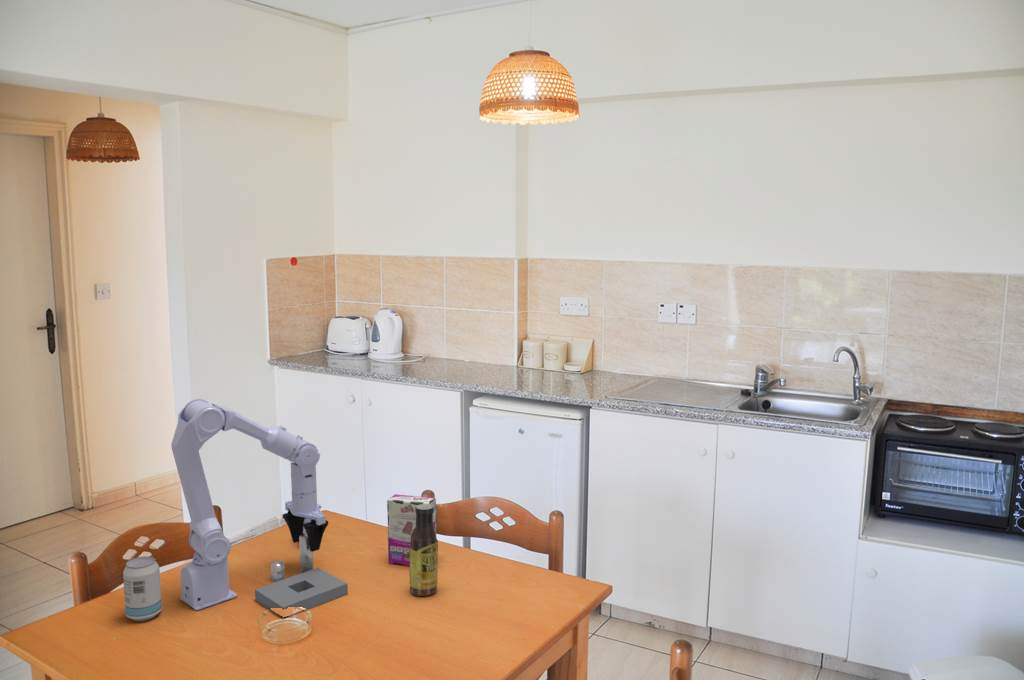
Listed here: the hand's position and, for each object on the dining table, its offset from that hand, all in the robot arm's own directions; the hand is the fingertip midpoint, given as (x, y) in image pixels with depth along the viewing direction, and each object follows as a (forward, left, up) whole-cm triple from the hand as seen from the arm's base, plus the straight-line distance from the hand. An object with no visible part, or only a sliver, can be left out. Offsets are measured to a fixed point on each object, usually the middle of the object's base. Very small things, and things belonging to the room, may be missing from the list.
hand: (306, 545), depth 190 cm
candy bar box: (+21, -14, -7) cm, 26 cm away
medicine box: (+10, +15, -7) cm, 19 cm away
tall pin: (0, 0, -6) cm, 6 cm away
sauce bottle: (+13, -28, -7) cm, 32 cm away
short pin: (-7, +1, -6) cm, 10 cm away
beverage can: (-36, +5, -7) cm, 37 cm away
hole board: (-8, -11, -6) cm, 15 cm away
